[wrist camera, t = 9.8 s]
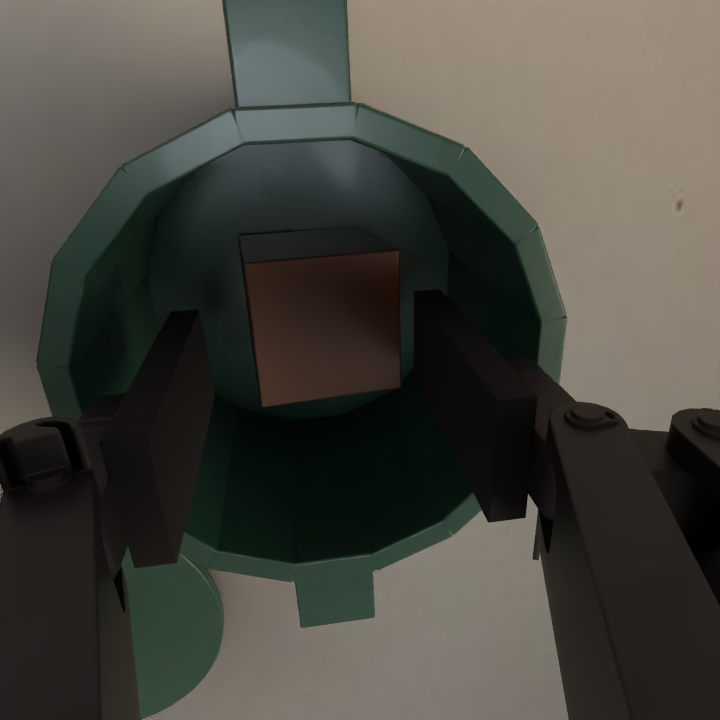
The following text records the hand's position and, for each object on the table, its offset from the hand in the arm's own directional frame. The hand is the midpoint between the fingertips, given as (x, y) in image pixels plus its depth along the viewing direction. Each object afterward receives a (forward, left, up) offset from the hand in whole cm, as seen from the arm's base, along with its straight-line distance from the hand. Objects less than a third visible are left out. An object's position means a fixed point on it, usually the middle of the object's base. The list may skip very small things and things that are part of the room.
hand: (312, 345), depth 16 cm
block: (0, 0, -5) cm, 5 cm away
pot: (0, 0, -6) cm, 6 cm away
